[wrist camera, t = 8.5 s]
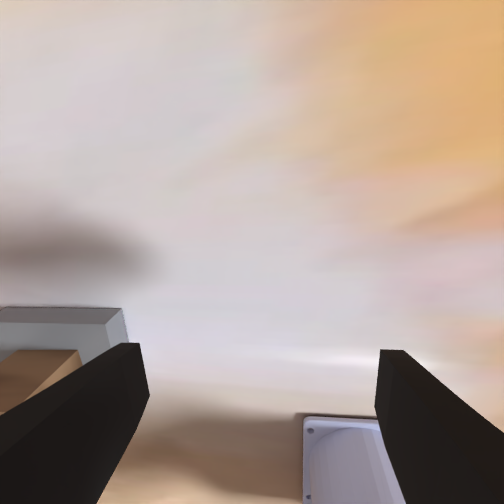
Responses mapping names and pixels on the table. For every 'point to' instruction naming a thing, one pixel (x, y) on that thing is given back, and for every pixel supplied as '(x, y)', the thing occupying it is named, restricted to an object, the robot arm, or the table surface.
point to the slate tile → (61, 330)
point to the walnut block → (33, 373)
